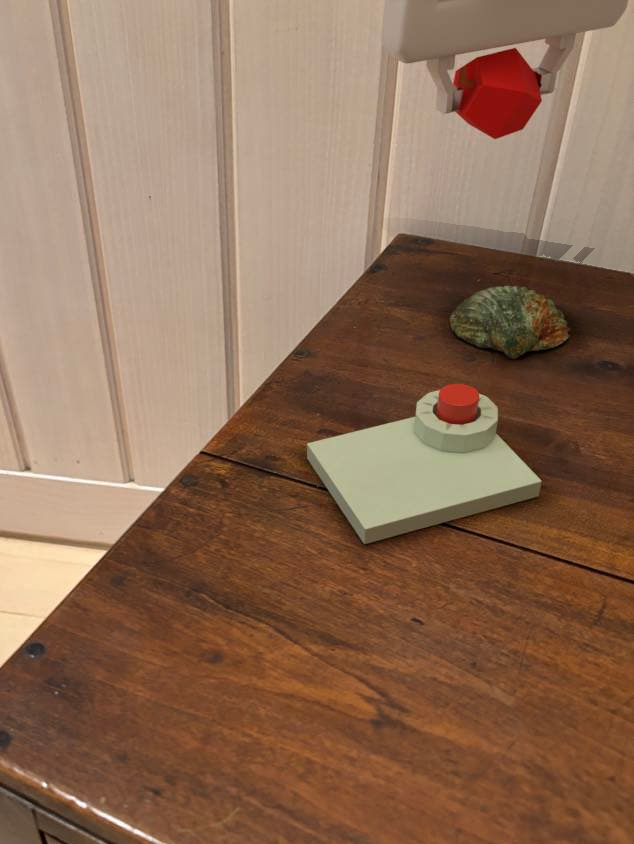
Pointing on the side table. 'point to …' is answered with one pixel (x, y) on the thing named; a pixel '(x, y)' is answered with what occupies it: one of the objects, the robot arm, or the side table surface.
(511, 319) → the seashell
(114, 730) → the side table surface
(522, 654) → the side table surface
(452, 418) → the button
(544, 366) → the side table surface
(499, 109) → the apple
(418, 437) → the scale
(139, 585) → the side table surface
